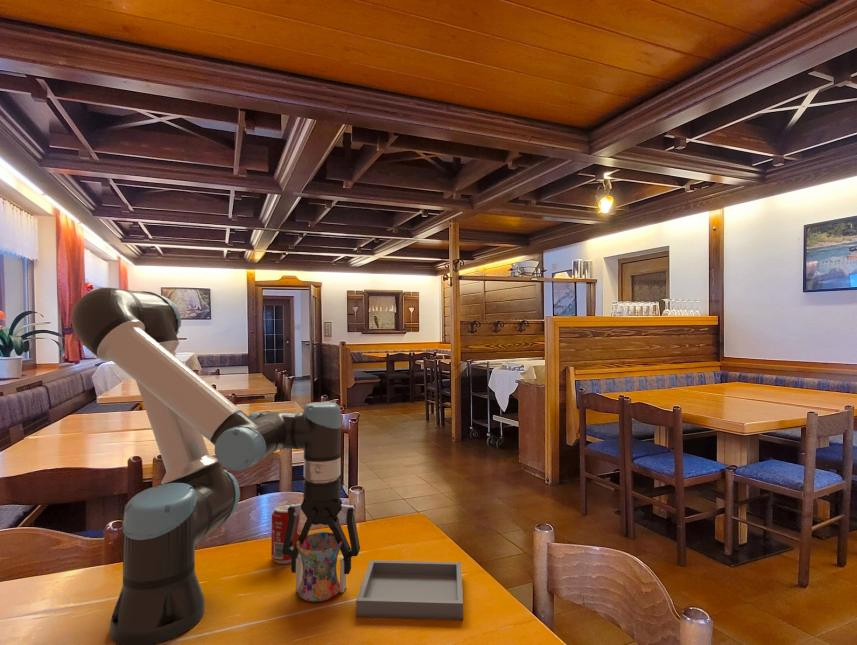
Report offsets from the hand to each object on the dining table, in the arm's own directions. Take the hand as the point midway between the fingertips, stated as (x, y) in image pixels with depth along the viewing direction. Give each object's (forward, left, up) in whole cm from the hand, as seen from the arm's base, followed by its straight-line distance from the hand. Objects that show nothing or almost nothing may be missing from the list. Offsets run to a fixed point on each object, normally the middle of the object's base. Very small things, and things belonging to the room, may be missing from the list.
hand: (321, 588), depth 100 cm
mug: (0, 0, -1) cm, 1 cm away
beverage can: (-12, +13, -1) cm, 18 cm away
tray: (+19, -1, 0) cm, 19 cm away
